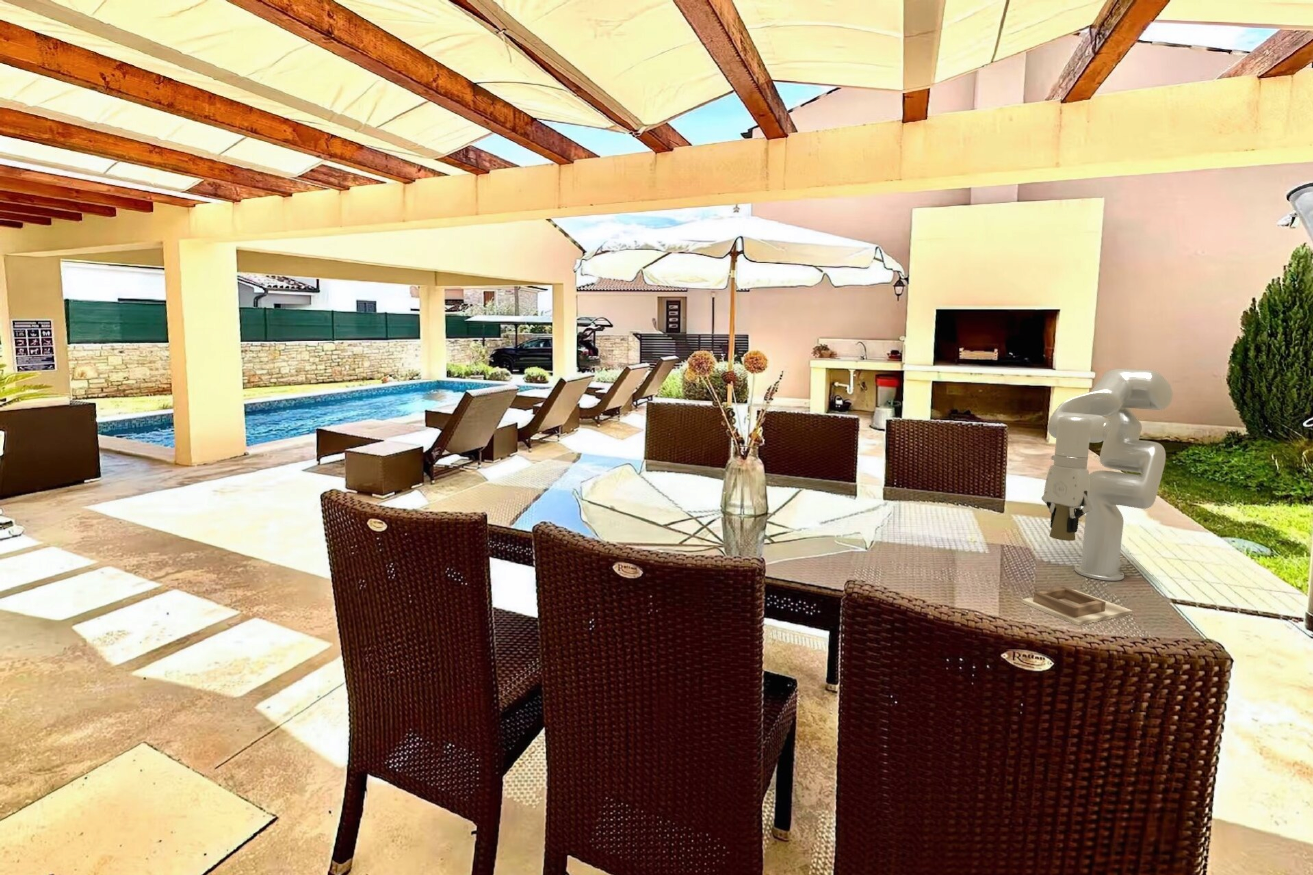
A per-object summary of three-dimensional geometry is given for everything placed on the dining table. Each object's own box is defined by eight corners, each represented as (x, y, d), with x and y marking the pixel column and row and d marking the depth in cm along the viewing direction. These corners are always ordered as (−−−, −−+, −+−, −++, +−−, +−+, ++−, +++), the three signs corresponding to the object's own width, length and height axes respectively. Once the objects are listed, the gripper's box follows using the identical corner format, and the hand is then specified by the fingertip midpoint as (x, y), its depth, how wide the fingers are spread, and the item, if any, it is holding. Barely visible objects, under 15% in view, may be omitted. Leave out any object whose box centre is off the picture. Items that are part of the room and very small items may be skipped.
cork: (1047, 537, 182) (1051, 497, 181) (1051, 533, 187) (1055, 493, 185) (1073, 542, 178) (1077, 500, 177) (1077, 537, 183) (1081, 497, 181)
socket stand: (1073, 592, 190) (1074, 580, 190) (1131, 614, 176) (1133, 601, 175) (1021, 602, 183) (1023, 590, 182) (1078, 625, 168) (1079, 612, 167)
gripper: (1032, 458, 186) (1026, 523, 189) (1090, 468, 171) (1082, 539, 173) (1052, 457, 189) (1045, 521, 191) (1111, 467, 173) (1103, 537, 176)
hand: (1063, 529), depth 182 cm, fingers closed on cork, 4 cm apart
